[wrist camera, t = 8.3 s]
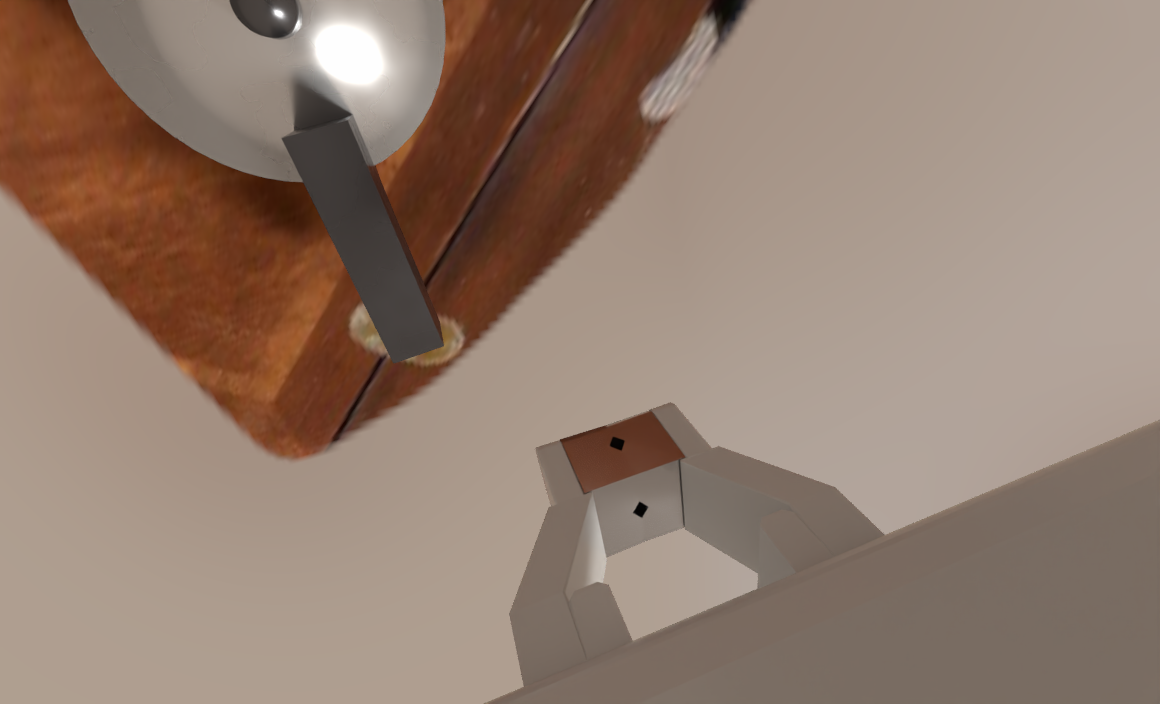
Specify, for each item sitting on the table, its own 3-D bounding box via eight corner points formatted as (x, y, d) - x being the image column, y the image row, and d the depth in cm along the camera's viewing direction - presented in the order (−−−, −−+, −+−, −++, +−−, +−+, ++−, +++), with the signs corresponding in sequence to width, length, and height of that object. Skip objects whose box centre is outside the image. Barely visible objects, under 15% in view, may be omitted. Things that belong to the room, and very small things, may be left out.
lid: (-37, -180, 16) (-147, -243, 13) (367, -247, 18) (361, -318, 14) (297, 361, 26) (283, 401, 23) (527, 284, 28) (544, 311, 25)
